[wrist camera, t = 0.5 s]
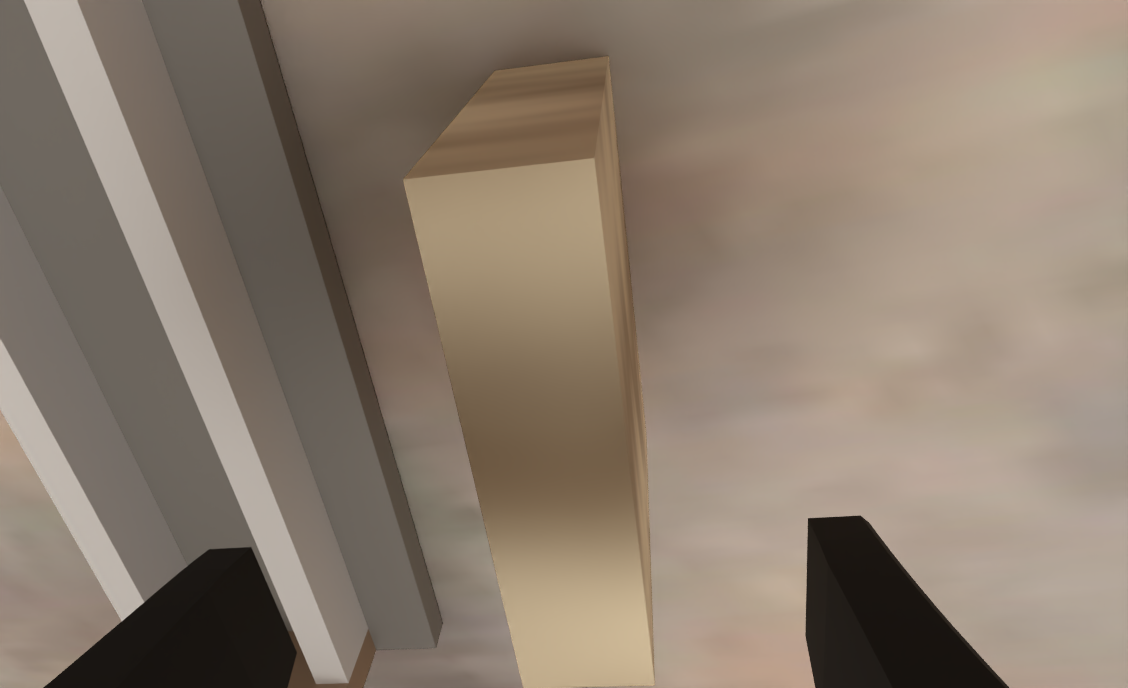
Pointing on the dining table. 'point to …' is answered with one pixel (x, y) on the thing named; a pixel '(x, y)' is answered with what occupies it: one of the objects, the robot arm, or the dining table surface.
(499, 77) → the door panel
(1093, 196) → the dining table surface
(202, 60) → the track board
